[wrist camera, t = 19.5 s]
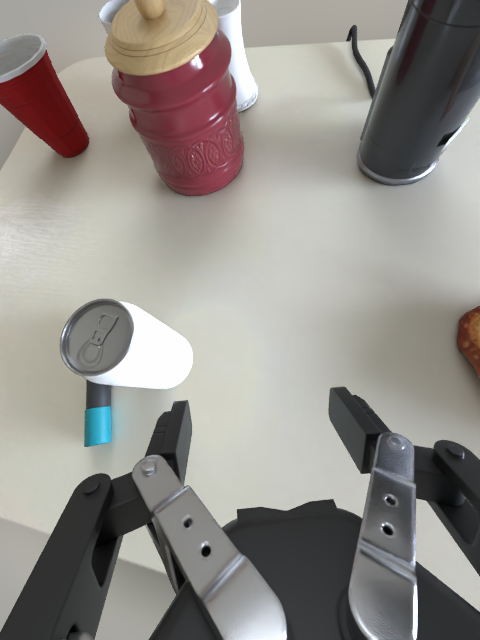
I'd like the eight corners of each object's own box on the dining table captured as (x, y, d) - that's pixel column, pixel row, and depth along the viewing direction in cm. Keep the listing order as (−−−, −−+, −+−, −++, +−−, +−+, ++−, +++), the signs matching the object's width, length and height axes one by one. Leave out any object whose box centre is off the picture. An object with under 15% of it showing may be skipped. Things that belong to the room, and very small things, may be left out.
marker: (104, 318, 32) (83, 315, 31) (113, 312, 31) (92, 308, 29) (104, 442, 28) (80, 447, 26) (115, 440, 26) (90, 446, 25)
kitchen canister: (218, 209, 34) (162, 31, 18) (144, 184, 38) (38, 15, 21) (260, 140, 37) (246, -71, 20) (187, 123, 40) (124, -72, 24)
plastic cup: (110, 117, 44) (51, 18, 32) (95, 166, 40) (24, 75, 29) (55, 123, 45) (-20, 32, 34) (37, 171, 42) (-52, 87, 31)
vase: (202, 104, 41) (179, 16, 32) (232, 75, 42) (218, -18, 33) (236, 120, 39) (223, 31, 30) (267, 89, 40) (264, -6, 31)
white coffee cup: (177, 78, 44) (149, -10, 35) (167, 105, 42) (136, 21, 33) (143, 80, 45) (107, -4, 36) (132, 106, 44) (92, 25, 34)
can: (131, 378, 29) (37, 364, 18) (154, 326, 30) (82, 283, 19) (180, 398, 28) (112, 397, 16) (202, 342, 29) (154, 306, 18)
